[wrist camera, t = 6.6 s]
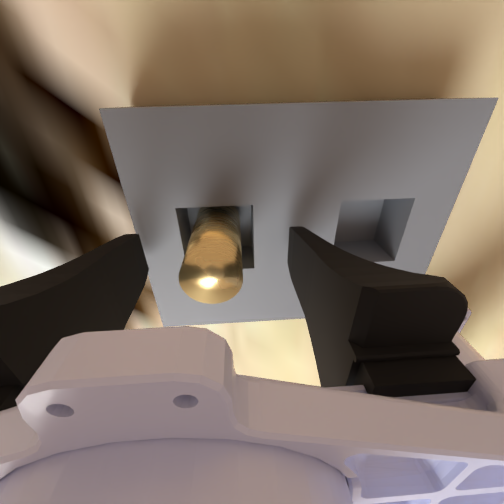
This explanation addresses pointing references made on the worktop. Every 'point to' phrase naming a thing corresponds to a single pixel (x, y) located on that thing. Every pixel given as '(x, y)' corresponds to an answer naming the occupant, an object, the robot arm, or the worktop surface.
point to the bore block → (291, 186)
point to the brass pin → (213, 256)
